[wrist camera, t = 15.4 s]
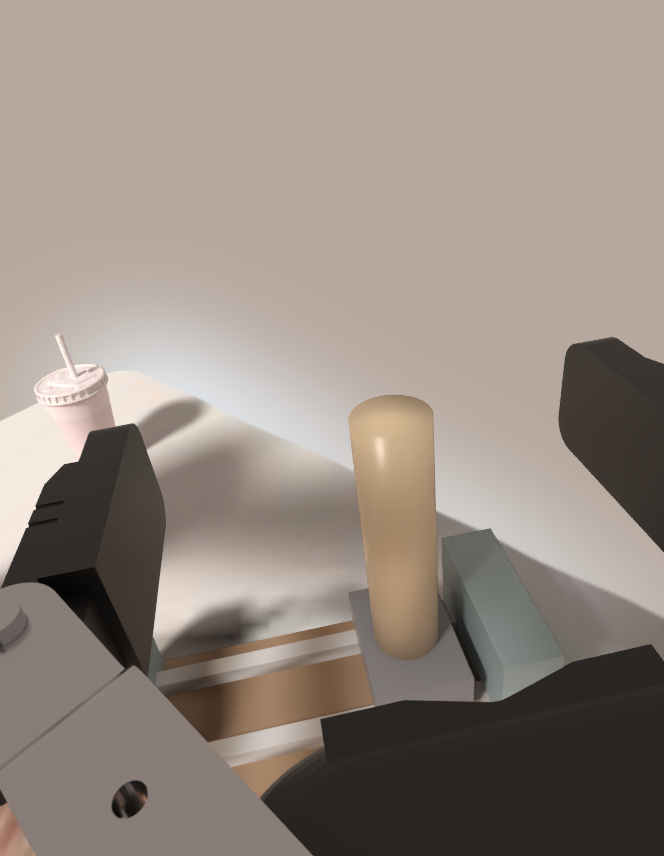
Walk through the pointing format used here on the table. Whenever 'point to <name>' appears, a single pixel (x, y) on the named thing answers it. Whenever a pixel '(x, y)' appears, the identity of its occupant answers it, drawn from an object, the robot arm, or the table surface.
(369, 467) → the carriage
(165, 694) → the rail bed
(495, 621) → the pair of sage blocks
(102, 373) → the smoothie
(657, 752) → the robot arm
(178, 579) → the table surface
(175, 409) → the table surface
